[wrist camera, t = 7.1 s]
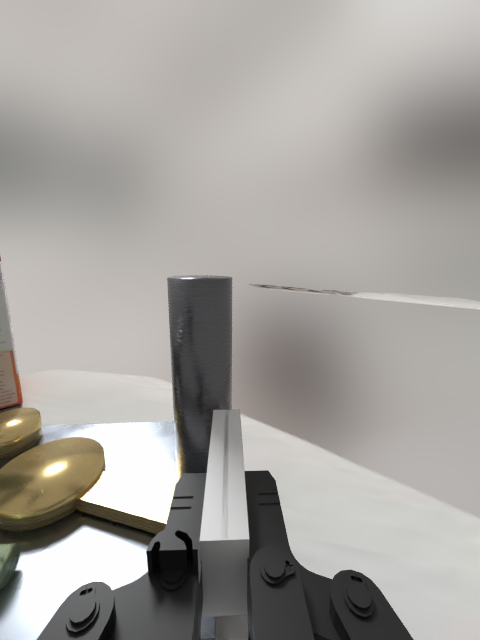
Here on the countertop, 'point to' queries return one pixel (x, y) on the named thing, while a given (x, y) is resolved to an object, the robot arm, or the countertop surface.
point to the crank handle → (189, 423)
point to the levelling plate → (78, 524)
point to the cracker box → (7, 355)
